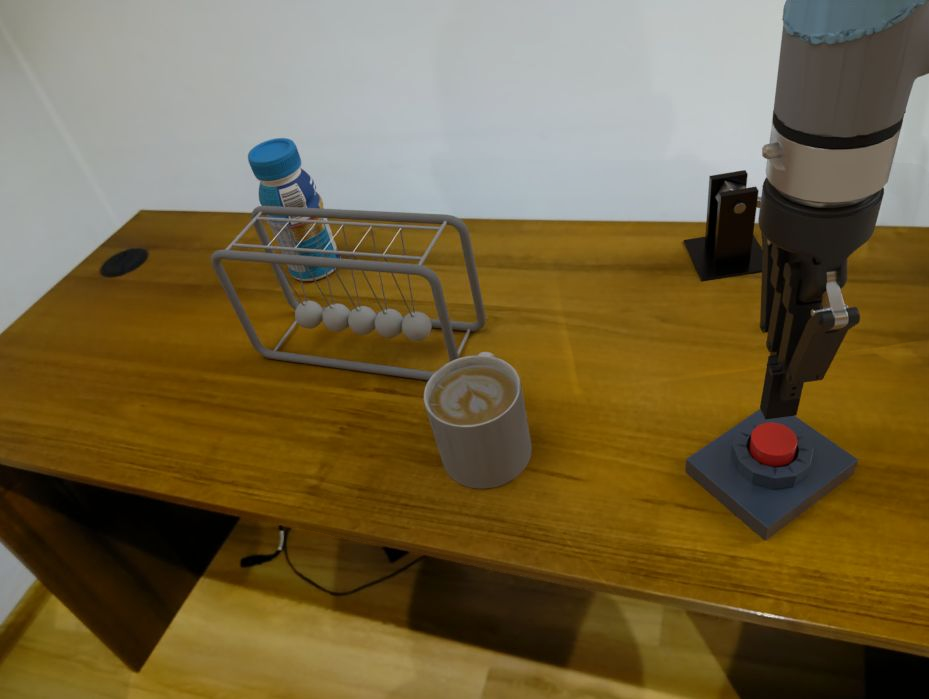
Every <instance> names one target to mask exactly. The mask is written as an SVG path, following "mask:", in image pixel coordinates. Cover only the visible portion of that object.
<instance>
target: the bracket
mask: <svg viewBox="0 0 929 699" xmlns="http://www.w3.org/2000/svg"><path fill="white" fill-rule="evenodd" d="M748 174H749V173H748V172H747V170H746V169H743V170H742V169H741V170H737V171H731V172H725V173H719V174H712V175H709V177H708V178H709V179H708V190H707V193H708V194H707V204H706V205H707V208H706V221H705V222H706V223H705V235H704V236H700V237H699V236H698V237H694V238H688V239H683V244H684V246H685V248H686V251H687V253H688V255H689V258H690V260H691V262H692V264H693V266H694V268H695V271H696V273H697V275H698V278H699V280H700V282H708V281H713V280H721V279H727V278H735V277H740V276H746V275H754V274H759V273H761V274H762V257H763V247H762V246H761V245H760V243H759V241H758V239H757V238H756V236H755V235H754V232H755V224H756V217H757V216H756V215H757V200H758V197H759V192H760V191H759V189H758V187H757V186H751V187H750V186H749V187H747V183H748ZM724 181H728V182H732V183H736V184H740V185H744V186H745V187H746V188H744V189H738V190H731V191H725V192H719V198H718V201H717V199H716V197H715V196H716V195H717V193H718V191H719V189H720V188H721V186H722V184H723V182H724Z"/></svg>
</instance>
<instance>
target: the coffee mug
mask: <svg viewBox="0 0 929 699" xmlns="http://www.w3.org/2000/svg"><path fill="white" fill-rule="evenodd" d="M434 372H435V373H434V374H433V375H432V376H431V378H430V379H429V381H428V380H427V381H426V382H427V383H426V384H425V387H424V391H423V404H424V407H425V408H424V409H425V411H426V414H427V417H428V421H429V424H430V427H431V430H432V434H433V437H434V441H435V443H436V447H437V450H438V453H439V457H440V459H441V463H442V466H443V469H444V471H445V473H446V474H447V475H448V476H449V477H450V478H451V479H452V481H454V482H455V483H457V484H459V485H461V486H464V487H467V488H471V489H477V490H487V489H494V488H497V487H500V486H503V485H506V484H508V483H510V482H511V481H513V480H514V479H516V478H517V477H519V476H520V474H522V473H523V471H524V470H525V469H526V468H527V466H528V464H529V462H530V459H531V457H532V450H533V448H532V440H531V434H530V428H529V422H528V417H527V410H526V405H525V404H526V403H525V398H524V393H523V387H522V382H521V378H520V375H519V373H518V372H517V370H516V369H515V368H514V367H513V366H512V365H511V364H510V363H509V362H507V361H506V360H503V358H502V359H501V358H499V357H496V356H495V355H494V354H493V353H492V352H489V351H481V352H479V353H478V354H475V355H466V356H463V357H459V359H456V360H453V361H451V362H450V361H449V362H447V363H445V364H444V365H442V366H441V367H440V368H438V369H437V370H436V371H434Z"/></svg>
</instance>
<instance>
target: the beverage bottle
mask: <svg viewBox="0 0 929 699" xmlns="http://www.w3.org/2000/svg"><path fill="white" fill-rule="evenodd" d="M247 160H248V164H249V167H250V168H251V171H252V173H253V176H254V177H255V178H256V180H258V181H259V186H258V201H259V204H260V206H279V207H300V208H320V209H325V208H324V201H323V199H322V197H321V195H320V194H319V193H318V192H317V185H316V182H315V180H314V179H313V178H312V177H311V175H310V174H309V173H308V172H306V170H304V169H303V168H302V159H301V155H300V153H299V150H298V147H297V145H296V143H295V142H294V140H292V139H290V138H287V137H278V138H272V139H268V140H265V141H262V142H260V143H258V144H257V145H255V146H254V147H253V148H251V149H250V150H249V152H248V154H247ZM264 217H267V218H285V219H303V220H321V221H329V220H328V218H315V217H296V216H278V215H264ZM266 222H267V224H268V225H269V226H270V229H271V231H272V234H273V236H274V238H275V237H276V235H277V234H278V233H279V232H280V231H281V230H282V228H283V227H284V226H285V225H286V224H287V222H281V221H266ZM314 224H315V223H298V222H289V226H290V230H291V235H292V239H293V243H294V248H295V247H296V246H297V245H298V244H299V242H300V241H301V240H302V239H303V237H304V236H305V235H306V234H307V232H308V231H309V230H310V229H311V227H312V226H313V225H314ZM316 228H317V232H318V237H319V241H320V245H321V249H322V250H324V248H325V247H326V246H327V245H328V243H329V242H330V241H331V239H332V238H333V237H334V235H333V232H332V229H331V226H330V224H316ZM275 241H276V243H277V246H278V247H290V248H293V245H292V240H291V236H290V232H289V227H288V224H287V225H286V226H285V227H284V228H283V230H282V231H281V232H280V233H279V234H278V235H277V237H276V238H275ZM296 248H304V249H318V250H320V247H319V242H318V238H317V234H316V229H315V225H314V226H313V228H312V229H311V230H310V231H309V232H308V234H307V235H306V236H305V237H304V239H303V240H302V241H301V242H300V244H299V245H298V246H297V247H296ZM325 250H332V251H340V250H339V248H338V245H337V243H336V240H335V237H334V238H333V239H332V241H331V242H330V243H329V245H328V246H327V247H326V249H325ZM280 252H281V254H287V255H295V253H294V251H285V250H280ZM295 252H296V255H298V253H297V251H295ZM299 254H300V255H301V256H313V257H322V255H321V253H312V252H299ZM322 254H323V257H327V256H328V257H329V258H340V259H342V255H339V254H327V256H326V255H325V253H322ZM286 266H287V269H288V273H289V274H290V276H291V277H292V278H294V279H295V280H297V281H300V282H301V279H300V275H299V271H298V266H297V265H289V264H286ZM307 267H308V269H309V270H310V272H311V274H312V276H313V277H314V279H315V281H318V280H322V279H324V278H327V276H326V272H325V268H324V267H313V266H307ZM337 269H338V268H335V270H336V271H337ZM299 270H300V274H301V278H302V282H313V281H314V280H313V278H312V276H311V275H310V273H309V271H308V270H307V268H306V266H301V265H299ZM326 271H327V275H328V276H330V275H331V274H333V273H335V271H334V269H333V268H326ZM315 281H314V282H315Z"/></svg>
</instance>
